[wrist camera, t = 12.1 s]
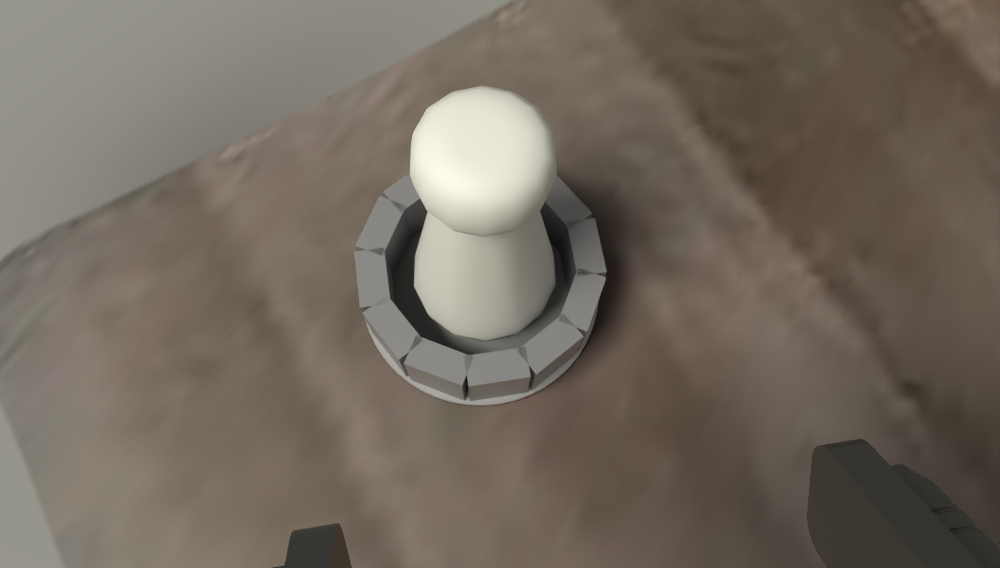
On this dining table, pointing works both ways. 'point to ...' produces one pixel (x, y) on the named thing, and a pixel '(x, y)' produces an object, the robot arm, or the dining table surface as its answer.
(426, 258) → the salt shaker
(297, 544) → the robot arm
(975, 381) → the dining table surface
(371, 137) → the dining table surface
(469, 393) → the bowl
